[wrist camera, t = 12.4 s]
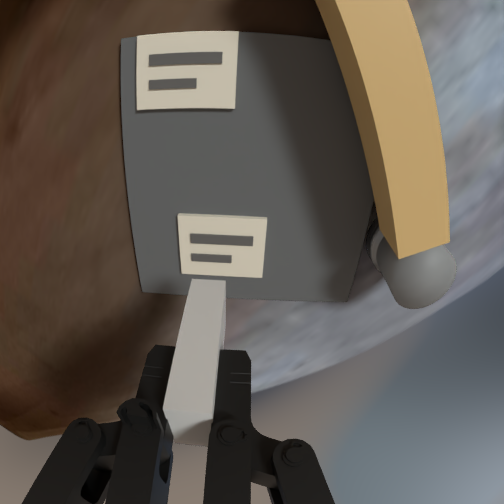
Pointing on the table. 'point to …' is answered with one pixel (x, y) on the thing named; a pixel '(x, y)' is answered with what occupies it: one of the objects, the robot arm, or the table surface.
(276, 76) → the mat
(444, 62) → the table surface
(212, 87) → the label
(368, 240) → the pivot post
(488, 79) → the table surface
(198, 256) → the label
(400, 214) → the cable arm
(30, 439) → the table surface
